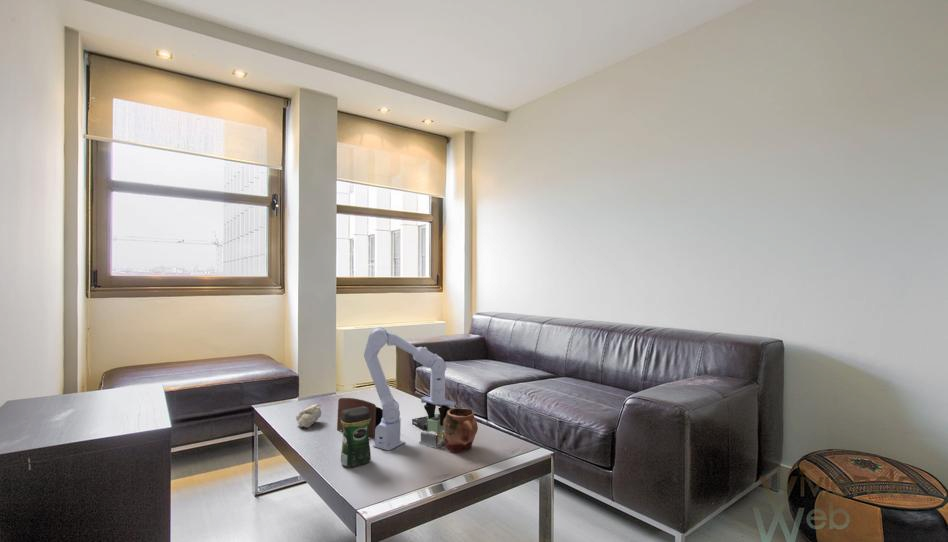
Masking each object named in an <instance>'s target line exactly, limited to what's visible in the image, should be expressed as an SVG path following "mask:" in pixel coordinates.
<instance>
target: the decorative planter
mask: <svg viewBox="0 0 948 542" xmlns="http://www.w3.org/2000/svg"><path fill="white" fill-rule="evenodd" d="M443 426H444V431H445V433H446V435H445V444H444V447H445V449H446V450H447V451H448V452H450V453H453V454H454V453H455V454H457V453H458V454H459V453H464V452H467V451H469V450H471V449H472V446H473V444H474V440H475V437H476V434H477V433H478V429H479V426H478V422H477V420H476V418H475V412H474V411H473V410H472V409H470V408H462V407H461V408H460V407H454V408H451V409H450V410H448V411H447V415H446V417H445V418H444V420H443Z"/></svg>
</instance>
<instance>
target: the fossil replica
mask: <svg viewBox="0 0 948 542" xmlns="http://www.w3.org/2000/svg"><path fill="white" fill-rule="evenodd" d="M321 416H322V410H321V405H320V404H319V403H316V404H315V403H314V404H313V405H309V406H308V407H306V408H304V409H302V410H301V411H299V413H298V415H296V416H295V420H296V422H297V424H298V426H299V427H300V428H306V429H308V428H310V427H311V426H312V425H314V424H315V423H316V422H317V421H318V420H319V418H321Z"/></svg>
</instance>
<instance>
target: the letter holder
mask: <svg viewBox="0 0 948 542" xmlns="http://www.w3.org/2000/svg"><path fill="white" fill-rule="evenodd" d="M337 402H338V403H337V404H338V405H337V419H336V420H337V423H336V431H339V430H342V431H341V432H343V426H342V423H341V417H342V411H343V410H346V409H352V408H357V407H362V406H365V407H367V408H368V409H369V411H370V418H371V420H370V423H369V438H370V437H372V438H371V439H375V429H376V427H377V426H378V425H379V424H380V423H381V419H382V418H383V408H382V407H378V406H377V405H376V404H375V403H373V402H370V401H366V400H364V399H359V398H356V397H355V398H353V397H352V398H351V397H341V398H339V399H338V400H337Z"/></svg>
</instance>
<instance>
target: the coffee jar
mask: <svg viewBox="0 0 948 542" xmlns="http://www.w3.org/2000/svg"><path fill="white" fill-rule="evenodd" d="M370 420H371V418H370V411H369V409H368V408H367V407H365V406H362V407H357V408H352V409H346V410H343V411H342V417H341V423H342V426H343V431H342V441H341V442H342V443H341V450H340V453H341V455H340V463H341V465H342V466H343V467H346V468H355V467H358V466H362V465H365V464H368V463H370V462H371V460H372V459H371V458H372V456H371V455H372V453H371V446H370V445H371V444H370V437H369V423H370Z"/></svg>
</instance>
